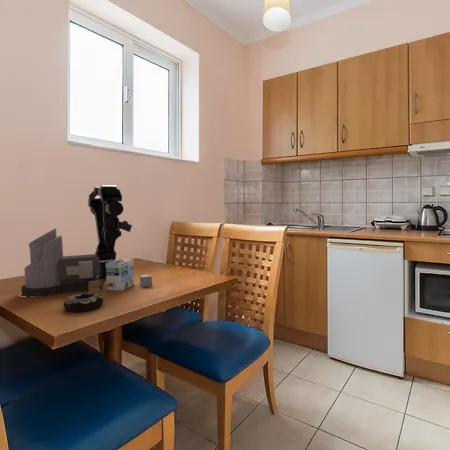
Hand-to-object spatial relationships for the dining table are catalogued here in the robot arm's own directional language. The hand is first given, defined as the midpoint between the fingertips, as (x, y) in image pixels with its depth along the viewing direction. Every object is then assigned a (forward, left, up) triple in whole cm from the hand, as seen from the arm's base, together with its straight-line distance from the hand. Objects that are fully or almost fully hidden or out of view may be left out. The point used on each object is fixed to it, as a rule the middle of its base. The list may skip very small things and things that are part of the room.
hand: (112, 252), depth 136 cm
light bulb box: (+10, +2, -13) cm, 17 cm away
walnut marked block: (+12, -8, -13) cm, 19 cm away
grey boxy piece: (+2, -19, -13) cm, 24 cm away
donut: (+31, -12, -14) cm, 36 cm away
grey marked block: (+12, +11, -13) cm, 21 cm away
